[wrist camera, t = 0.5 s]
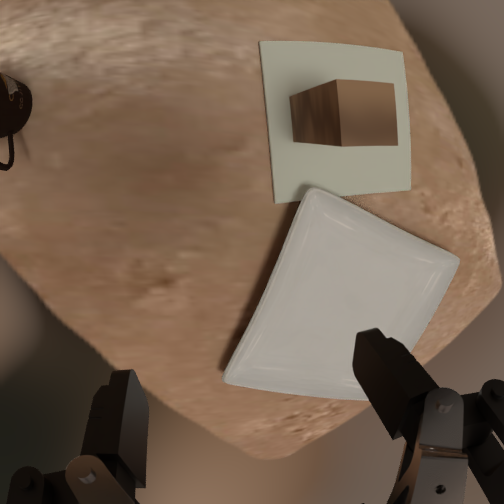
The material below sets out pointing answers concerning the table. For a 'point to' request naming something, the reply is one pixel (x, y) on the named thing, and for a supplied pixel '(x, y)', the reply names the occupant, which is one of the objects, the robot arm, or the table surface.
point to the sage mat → (325, 156)
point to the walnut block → (345, 114)
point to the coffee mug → (13, 111)
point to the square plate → (337, 299)
